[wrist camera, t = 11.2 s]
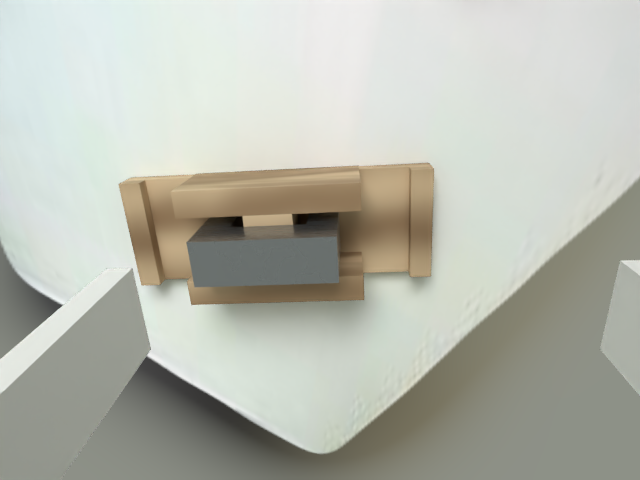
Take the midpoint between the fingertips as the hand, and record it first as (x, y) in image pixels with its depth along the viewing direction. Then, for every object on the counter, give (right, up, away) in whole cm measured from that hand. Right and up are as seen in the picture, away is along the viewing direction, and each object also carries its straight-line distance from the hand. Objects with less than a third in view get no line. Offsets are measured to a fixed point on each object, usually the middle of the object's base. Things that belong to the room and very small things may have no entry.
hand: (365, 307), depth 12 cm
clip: (-4, +3, +21) cm, 21 cm away
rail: (-4, +3, +22) cm, 22 cm away
